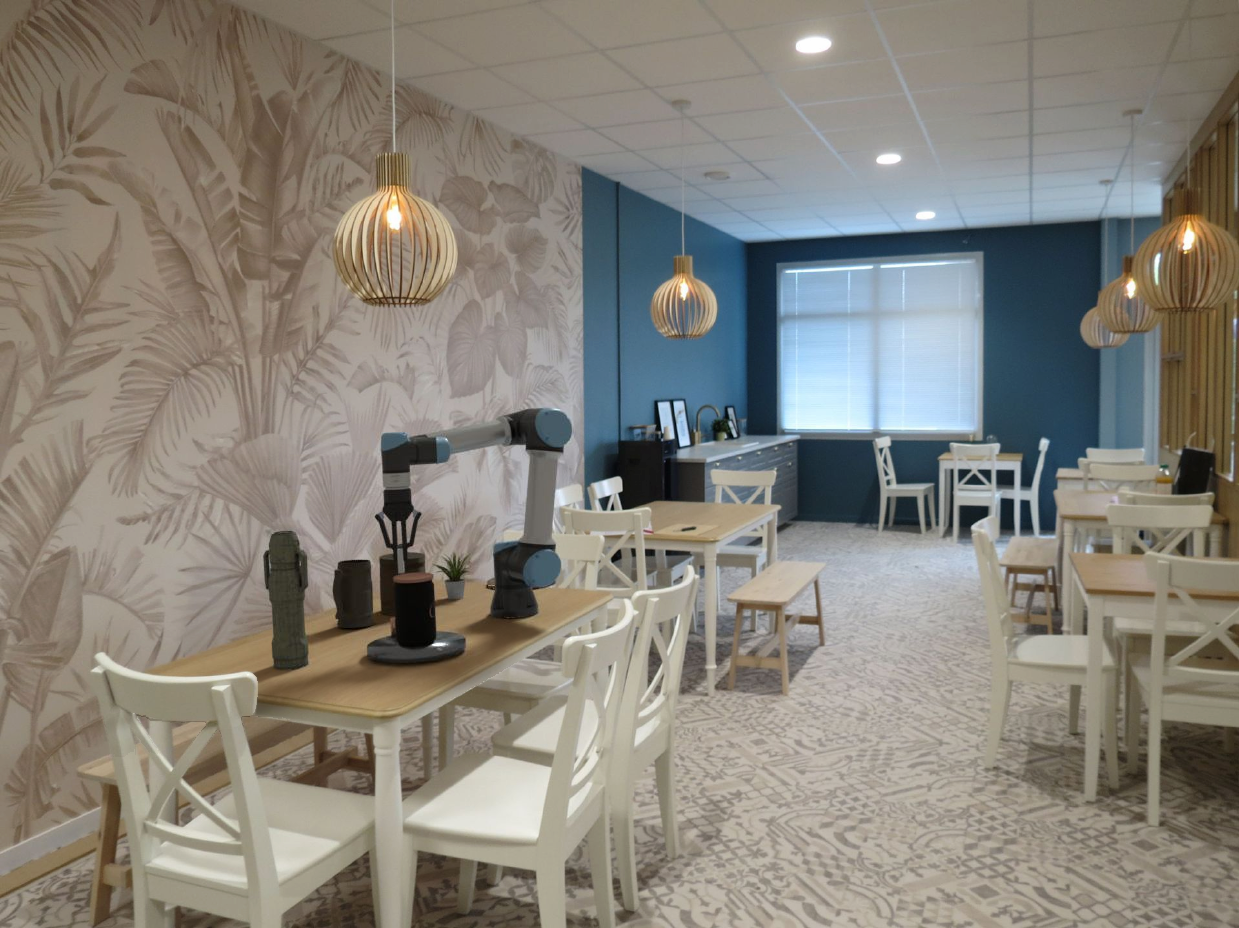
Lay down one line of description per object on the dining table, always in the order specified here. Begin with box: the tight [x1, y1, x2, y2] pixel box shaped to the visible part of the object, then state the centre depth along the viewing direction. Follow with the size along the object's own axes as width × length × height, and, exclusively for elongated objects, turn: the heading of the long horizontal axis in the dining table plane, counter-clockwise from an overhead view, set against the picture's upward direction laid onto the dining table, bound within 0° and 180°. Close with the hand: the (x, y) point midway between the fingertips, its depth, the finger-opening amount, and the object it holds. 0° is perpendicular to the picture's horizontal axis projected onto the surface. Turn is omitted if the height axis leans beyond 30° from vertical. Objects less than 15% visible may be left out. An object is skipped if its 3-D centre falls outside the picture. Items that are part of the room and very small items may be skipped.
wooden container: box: [379, 543, 426, 616], centre depth 319 cm, size 15×15×22 cm
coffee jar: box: [393, 572, 437, 647], centre depth 263 cm, size 11×11×18 cm
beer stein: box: [332, 559, 374, 629], centre depth 298 cm, size 15×11×20 cm
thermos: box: [262, 530, 309, 671], centre depth 255 cm, size 9×12×35 cm
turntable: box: [366, 616, 467, 664], centre depth 264 cm, size 26×26×7 cm
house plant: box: [431, 552, 475, 601], centre depth 339 cm, size 14×14×16 cm
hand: (401, 572), depth 273 cm, fingers closed
